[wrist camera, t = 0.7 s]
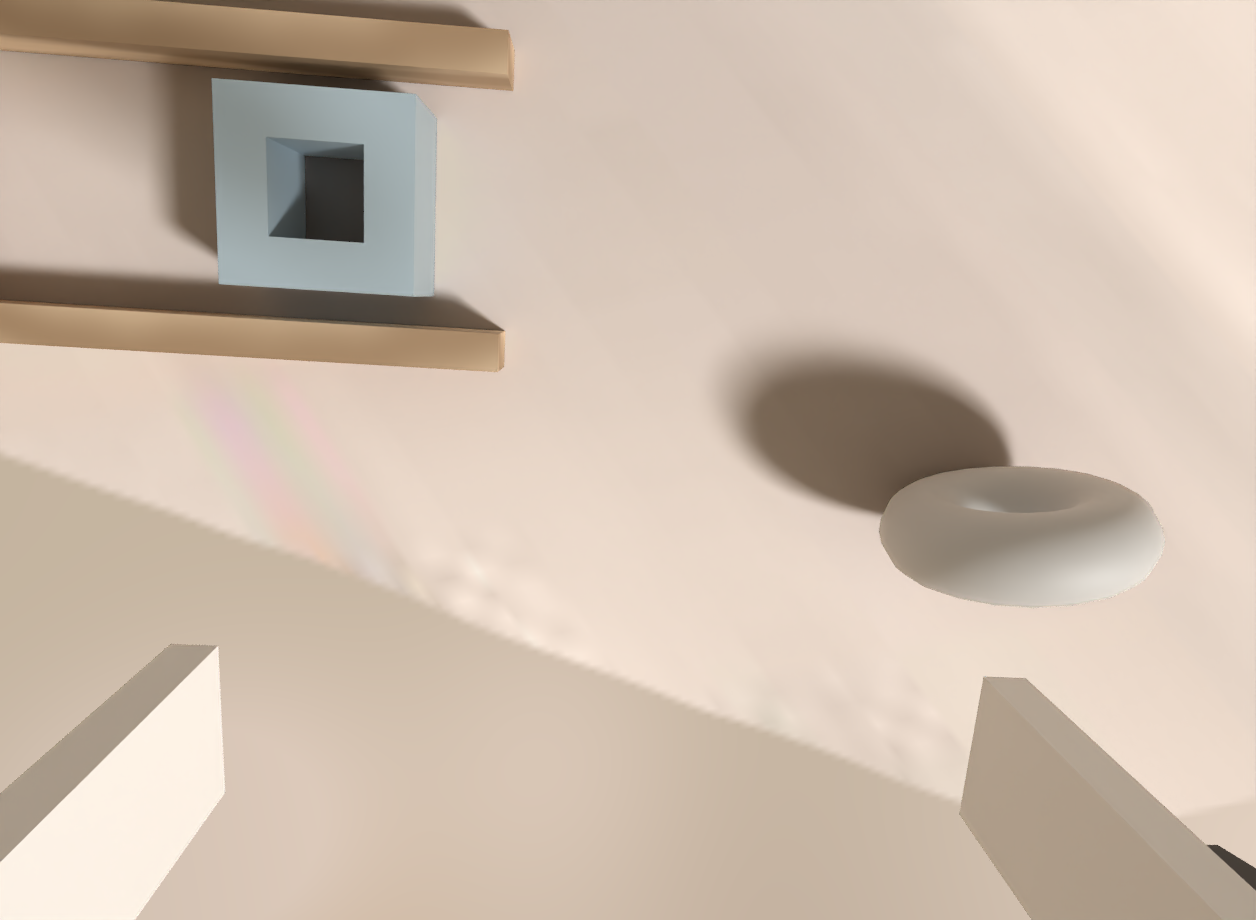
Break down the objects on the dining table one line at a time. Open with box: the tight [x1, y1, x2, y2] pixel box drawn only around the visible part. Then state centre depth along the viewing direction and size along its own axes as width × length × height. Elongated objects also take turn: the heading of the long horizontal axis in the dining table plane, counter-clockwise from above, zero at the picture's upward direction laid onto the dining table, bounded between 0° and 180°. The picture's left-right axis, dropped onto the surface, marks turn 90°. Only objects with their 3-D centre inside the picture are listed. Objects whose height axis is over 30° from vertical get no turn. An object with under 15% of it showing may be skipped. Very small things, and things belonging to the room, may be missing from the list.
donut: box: [879, 466, 1165, 608], centre depth 32 cm, size 10×3×10 cm, turn 96°
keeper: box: [212, 78, 437, 297], centre depth 31 cm, size 7×7×4 cm
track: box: [0, 0, 515, 372], centre depth 31 cm, size 12×24×3 cm, turn 86°
